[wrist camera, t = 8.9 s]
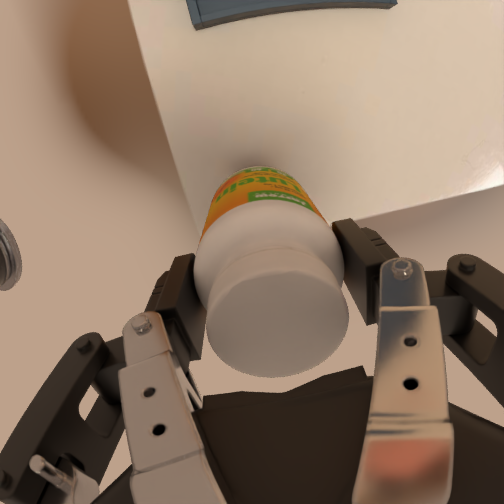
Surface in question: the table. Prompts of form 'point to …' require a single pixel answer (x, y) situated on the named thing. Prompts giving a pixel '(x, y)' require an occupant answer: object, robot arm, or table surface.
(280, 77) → the table surface
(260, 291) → the supplement bottle
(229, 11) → the tray
